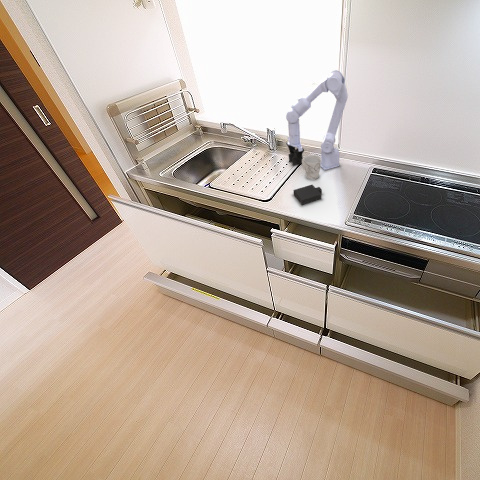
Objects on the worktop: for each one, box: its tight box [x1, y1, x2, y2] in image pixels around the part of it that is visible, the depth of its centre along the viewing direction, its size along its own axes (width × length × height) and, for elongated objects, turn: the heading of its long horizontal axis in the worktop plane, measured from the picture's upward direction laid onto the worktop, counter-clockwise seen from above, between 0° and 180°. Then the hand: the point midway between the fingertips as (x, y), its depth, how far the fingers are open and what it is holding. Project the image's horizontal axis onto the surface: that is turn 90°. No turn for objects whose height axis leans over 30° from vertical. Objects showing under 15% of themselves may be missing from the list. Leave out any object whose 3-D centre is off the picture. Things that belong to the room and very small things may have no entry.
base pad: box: [293, 184, 323, 206], centre depth 121 cm, size 12×9×3 cm
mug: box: [301, 154, 321, 181], centre depth 132 cm, size 11×8×10 cm
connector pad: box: [288, 153, 304, 167], centre depth 143 cm, size 6×5×4 cm
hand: (295, 158), depth 143 cm, fingers open, 7 cm apart
